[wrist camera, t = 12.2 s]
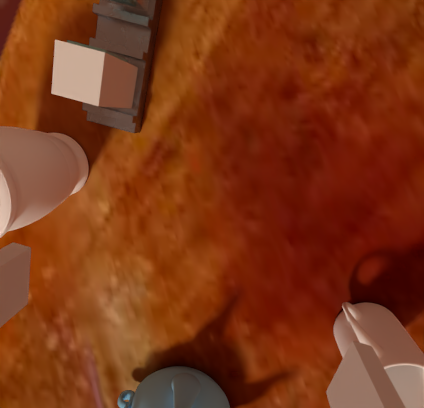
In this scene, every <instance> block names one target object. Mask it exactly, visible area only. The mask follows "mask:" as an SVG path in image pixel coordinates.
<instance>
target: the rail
mask: <svg viewBox="0 0 424 408" xmlns="http://www.w3.org/2000/svg"><path fill="white" fill-rule="evenodd" d="M161 6H162V0H100V3H99V5H98V4H95V3H93V13H95V14H96V15H98V21H97V30H96V39H95V38H91V37H90V40H89V46H93V47H97V48H100V49H104V50H107V51H109V52H111V53H113V54H115V55H118V56H120V57H122V58H124V59H126V60H128V62H127V63H129V64H131V65H134V66H136V67H138V71H137V78H136V84H135V90H134V97H133V103H132V109H131V108H116V107H101V106H95V105H92V104H88V103H83V107H82V110H85V111H87V120H88V121H91V122H95V123H99V124H102V125H106V126H110V127H113V128H117V129H121V130H124V131H128V132H132V133H139V132H140V129H141V123H142V118H143V112H144V106H145V100H146V94H147V88H148V82H149V76H150V70H151V65H152V59H153V53H154V47H155V41H156V35H157V29H158V23H159V18H160V12H161Z"/></svg>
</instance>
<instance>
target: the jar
mask: <svg viewBox="0 0 424 408" xmlns="http://www.w3.org/2000/svg"><path fill="white" fill-rule="evenodd" d="M88 171H89V167H88V160H87V157H86V155H85V153H84V151H83V149H82V148H81V146H80V145H79V144H78V143H77V142H76V141H75V140H74V139H72V138H71V137H69V136H67V135H64V134H61V133H45V132H41V131H36V130H28V129H23V128H17V127H4V126H0V238H1V237H2V236H3V235H4V234H5V233H6V232H8V231H12V230H15V229H18V228H21V227H24V226H26V225H29V224H31V223H33V222H35V221H37V220H39V219H41V218H42V217H44V216H45V215H47V214H48V213H50V212H51V211H52V210H53V209H55V208H56V207H57V206H58V205H59V204H61V203H62V202H63V201H64V200H66V199H67V198H68V197H69V195H71V194H74V193H76V192H77V191H79V190H80V189H81V188H82V187H83V186H84V184H85V182H86V180H87V177H88Z"/></svg>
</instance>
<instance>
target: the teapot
mask: <svg viewBox="0 0 424 408" xmlns="http://www.w3.org/2000/svg"><path fill="white" fill-rule="evenodd" d="M125 399H128V400H129V402H125V401H123V400H125ZM118 405H119V407H120V408H230V405H229V402H228V399H227V397H226V395H225V393H224V392H223V390H222V389H221V388H220V386H219V385H218V384H217V383H216V382H215V381H214V380H213V379H212V378H210V377H209V376H208V375H206V374H205V373H203V372H201V371H199V370H197V369H194V368H190V367H185V366H172V367H167V368H163V369H161V370H158V371H156V372H154V373H152V374H150V375H148V376H147V377H146V378H145V379H144V380H143V381H142V382H141V383H140V384H139V386H138V387H137V389H136V391H135V393H134V392H133V391H132V390H126V391H123V392H122V393H121V394H120V396H119V398H118Z"/></svg>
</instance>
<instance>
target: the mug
mask: <svg viewBox="0 0 424 408" xmlns="http://www.w3.org/2000/svg"><path fill="white" fill-rule="evenodd" d="M342 308H343V311H342V312H341V313H340V314H339V315H338V317H337V318H336V321H335V323H334V336H335V339H336V342H337V345H338V347H339V350H340V352H341V355H342V357H343V358H344V356H345V354H346V352H347V350H348V348H349V346H350V344H351V342H352V341H356V342H359V343H363V344H366V345H370V346H372V347H373V349H374V351H375V353H376V355H377V356H378V358H379V360H380V362H381V364H382V366H383V367H384V369H385V371H386V373H387V375H388V376H389V378H390V380H391V382H392V384H393V386H394V387H395V389H396V391H397V393H398V395H399V396H400V398H401V400H402V402H403V404H404V406H405V407H406V408H424V354H423V352H422V351H421V350H420V348H419V347H418V346H417V344H416V343H415V342H414V340H413V339H412V338H411V336H410V335H409V334H408V332H407V331H406V330H405V328H404V327H403V326H402V324H401V323H400V322H399V320H398V319H397V318H396V317H395V315H394V314H393V313H392V312H391V311H389V310H388V309H387V308H385V307H383V306H381V305H379V304H375V303H369V302H364V303H357V304H354V305H352V304H350V303H348V302H344V303H343V304H342Z"/></svg>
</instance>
